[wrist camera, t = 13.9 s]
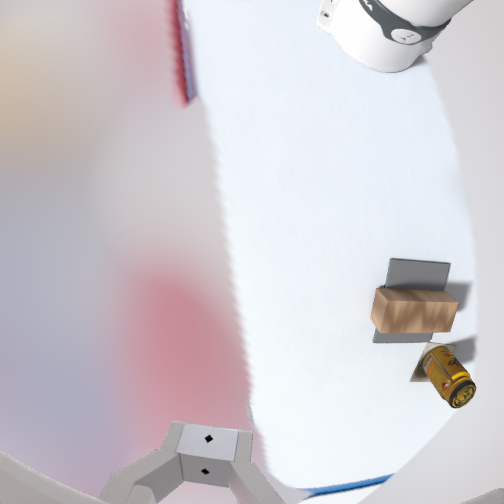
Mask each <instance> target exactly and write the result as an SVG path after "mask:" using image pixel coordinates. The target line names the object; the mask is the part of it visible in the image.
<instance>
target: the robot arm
mask: <svg viewBox="0 0 504 504" xmlns="http://www.w3.org/2000/svg"><path fill="white" fill-rule="evenodd" d="M472 1H473V0H322V1H321V5H320V9H319V12H318V16H317V20H316V23H317V25H318V26H319V27H320V28H321V29H323V30H324V31H326V32H327V33H329V34H330V35H332V36H333V37H334V39H335V40H336V41H337V43H338V44H339V45H340V47H341V48H342V49H343V50H344V51H345V52H346V53H347V54H348V55H349V56H350V57H351V58H352V59H354V60H355V61H357V62H358V63H360V64H362V65H363V66H365V67H368V68H370V69H373V70H376V71H381V72H398V71H402V70H404V69H406V68H408V67H409V66H411V65H412V64H413V63H414V61H415V60H416V59H417V57H418V56H420V55H423V54H425V53H428V52H429V51H430V50H431V49H432V42H433V41H434V40H435V39H436V38H437V36H438V35H439V34H440V33H441V32H442V31H443V30H444V29H445V28H446V26H447V25H448V24H449V22H450V21H451V18H452V17H453V16H454V15H455V14H456V13H458V12H459V11H460V10H462V9H463V8H464V7H465V6H467V5H468V4H469V3H470V2H472ZM324 15H328V16H329V17H325V16H324ZM252 440H253V431H249V430H238V429H228V428H219V427H209V426H203V425H198V424H192V423H187V422H180V421H176V420H173V421H172V422H171V424H170V426H169V429H168V431H167V434H166V436H165V439H164V441H163V444H162V446H161V449H160V450H159V449H155V450H154V451H152V452H150V453H149V454H147V455H145V456H144V457H142V458H140V459H138V460H137V461H135V462H133V463H131V464H130V465H128V466H126V467H124V468H122V469H121V470H119V471H117V472H115V473H113V474H111V475H110V477H109V479H108V481H107V483H106V485H105V486H104V488H103V490H102V492H101V494H100V496H99V498H98V499H97V498H95V497H92V496H90V495H87V494H84V493H82V492H80V491H77V490H75V489H73V488H70V487H68V486H66V485H64V484H62V483H60V482H57V481H55V480H53V479H51V478H49V477H47V476H45V475H43V474H41V473H39V472H37V471H36V470H34V469H32V468H30V467H28V466H26V465H25V464H23V463H21V462H19V461H18V460H16V459H14V458H13V457H11V456H9V455H8V454H6V453H5V452H3V451H1V450H0V504H157V503H158V502H159V501H161V500H162V499H163V498H164V497H166V496H167V495H168V494H169V493H171V492H172V491H173V490H174V489H176V488H177V487H178V486H179V485H180V484H182V483H183V481H188V482H194V483H201V484H208V485H215V486H221V487H228V488H229V490H230V492H231V493H232V495H233V497H234V499H235V500H236V502H237V504H286V503H284V501H283V500H282V499H281V497H280V496H279V495H278V494H277V492H276V491H275V490H274V489H273V487H272V486H271V485H270V483H269V482H268V481H267V480H266V478H265V477H264V476H263V474H262V473H261V472H260V470H259V469H258V468H257V466H256V465H255V464H253V463H250V462H251V451H252ZM461 504H504V489H503V488H499V489H495V490H493V491H491V492H489V493H486V494H484V495H481V496H479V497H477V498H474V499H471V500H469V501H466V502H463V503H461Z"/></svg>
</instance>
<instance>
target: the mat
mask: <svg viewBox="0 0 504 504" xmlns="http://www.w3.org/2000/svg"><path fill="white" fill-rule="evenodd" d="M448 269H449V264H446V263H434V262H422V261H410V260H398V259H390V262H389V268H388V273H387V279H386V284H385V289H405V290H428V291H444V288H445V283H446V279H447V274H448ZM431 335H432V333H379V331H378V329H377V328H376V330H375V334H374V338H373V343H422V342H430V339H431Z"/></svg>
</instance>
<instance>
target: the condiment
mask: <svg viewBox="0 0 504 504" xmlns="http://www.w3.org/2000/svg"><path fill="white" fill-rule="evenodd" d="M455 347H456V346H455V345H447V344H437V343H427V345H426V347H425V349H424V351H423V354H422V356H421V358H420V360H419V362H418V365H417V367H416V369H415V371H414V373H413V375H412V378H411V379H410V381H409V382H432V384H433V385H434V387H435V388H436V390H437V391H438V393H439V394H440V396H441V397H442V398H443V399H444V400H446V401H447V402H448V403H449V405H450V406H451V407H452V408H460V407H462V406H464V405H466V404H467V403H468V402H469V401H470V400H471V399H472V398H473V396H474V394H475V391H476V386H475V383H474V382H473V381H472V379H471V378H470V374H469V373H468V371H467V370H466V369H465V368H464V367H463V366H462V365H461V364H460V362H459V361H458V360H457V359H456V357H455V356H454V355H453V354H452V353H453V351H454V349H455ZM420 367H421V368H420Z"/></svg>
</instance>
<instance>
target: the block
mask: <svg viewBox="0 0 504 504" xmlns="http://www.w3.org/2000/svg"><path fill="white" fill-rule="evenodd" d="M458 303H459V302H457V301H456V300H455V299H454V298H452V297H451V296H450V295H448V294H447V293H446V292H444V291H428V290H405V289H385V288H376V293H375V298H374V303H373V308H372V313H371V317H370V318H371V320H372V322H373V323H374V325H375V326H376V328H377V329H378V331H379V333H438V332H450V331H451V327H452V324H453V321H454V317H455V314H456V310H457V307H458Z"/></svg>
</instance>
